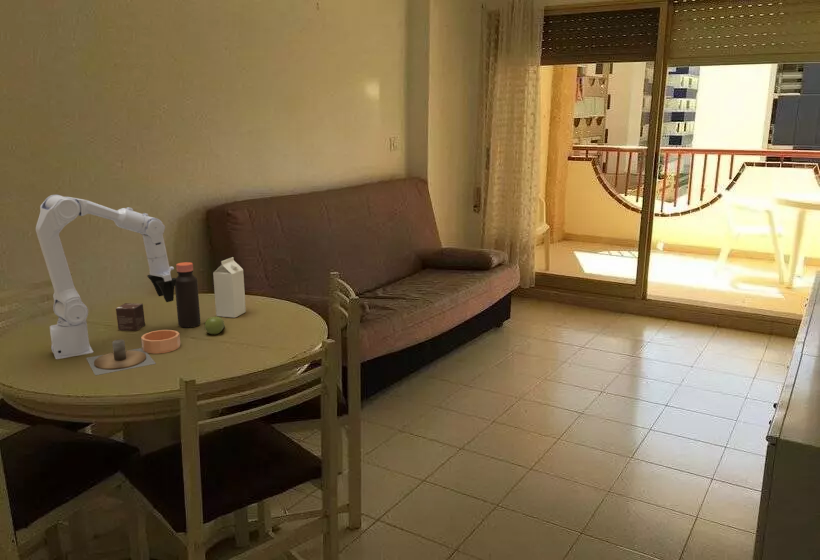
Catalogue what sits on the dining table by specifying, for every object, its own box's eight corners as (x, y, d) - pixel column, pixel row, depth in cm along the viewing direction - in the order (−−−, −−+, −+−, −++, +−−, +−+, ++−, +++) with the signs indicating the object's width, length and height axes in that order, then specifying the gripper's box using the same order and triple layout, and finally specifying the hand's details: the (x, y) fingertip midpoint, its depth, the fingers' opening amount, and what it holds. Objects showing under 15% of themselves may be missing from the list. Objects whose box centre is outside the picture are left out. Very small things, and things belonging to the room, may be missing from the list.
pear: (202, 318, 201) (209, 314, 211) (203, 336, 201) (210, 331, 211) (221, 317, 201) (227, 313, 211) (222, 335, 202) (228, 330, 212)
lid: (98, 373, 172) (96, 352, 171) (90, 358, 183) (88, 339, 181) (151, 363, 179) (149, 343, 178) (140, 349, 190) (138, 330, 188)
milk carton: (216, 316, 222) (212, 260, 217) (227, 310, 229) (224, 256, 224) (234, 318, 220) (231, 262, 215) (246, 312, 227) (242, 257, 222)
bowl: (147, 357, 185) (146, 343, 184) (139, 346, 193) (138, 333, 192) (184, 350, 190) (183, 336, 189) (174, 340, 198) (173, 327, 197)
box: (145, 325, 213) (143, 303, 211) (136, 331, 207) (134, 308, 205) (127, 324, 213) (125, 302, 211) (117, 330, 207) (115, 308, 206)
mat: (95, 376, 171) (95, 375, 171) (86, 359, 183) (85, 357, 183) (156, 364, 179) (155, 363, 179) (143, 349, 191) (143, 347, 191)
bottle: (178, 322, 215) (173, 262, 210) (200, 320, 217) (195, 260, 212) (178, 329, 209) (172, 266, 204) (200, 327, 211) (195, 265, 206)
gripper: (177, 257, 197) (186, 300, 201) (163, 248, 208) (171, 289, 212) (153, 263, 193) (163, 306, 197) (140, 253, 204) (149, 295, 209)
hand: (165, 298), depth 205 cm, fingers open, 7 cm apart
